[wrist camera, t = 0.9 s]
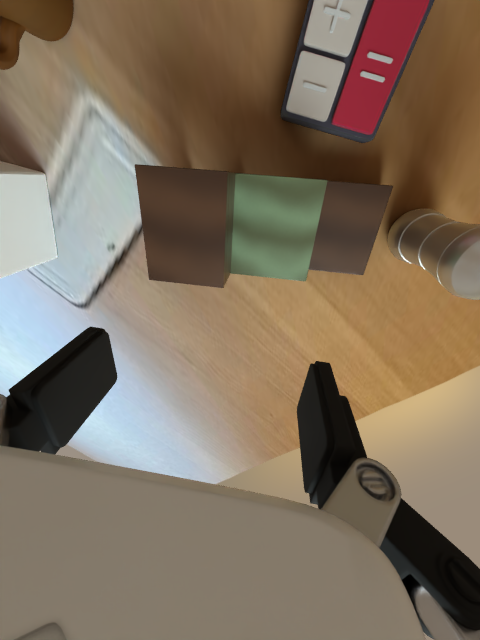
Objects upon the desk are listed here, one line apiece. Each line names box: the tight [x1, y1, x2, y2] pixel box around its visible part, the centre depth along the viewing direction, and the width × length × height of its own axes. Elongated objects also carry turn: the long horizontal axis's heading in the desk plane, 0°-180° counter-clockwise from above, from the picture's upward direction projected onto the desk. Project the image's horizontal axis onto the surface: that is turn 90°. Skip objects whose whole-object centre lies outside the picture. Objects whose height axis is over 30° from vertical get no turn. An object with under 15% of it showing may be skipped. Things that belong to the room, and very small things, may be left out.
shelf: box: [135, 164, 393, 288], centre depth 30 cm, size 11×26×14 cm, turn 86°
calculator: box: [281, 0, 434, 143], centre depth 25 cm, size 11×4×15 cm
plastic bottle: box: [387, 208, 480, 300], centre depth 26 cm, size 6×7×20 cm
